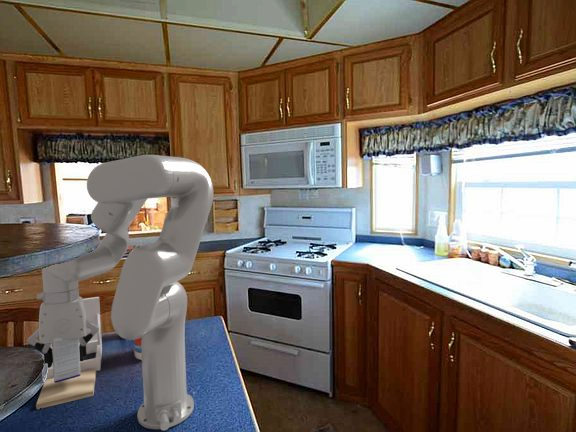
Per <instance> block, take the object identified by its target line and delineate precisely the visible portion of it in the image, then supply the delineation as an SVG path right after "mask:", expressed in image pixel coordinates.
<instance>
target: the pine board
mask: <svg viewBox="0 0 576 432" xmlns="http://www.w3.org/2000/svg"><path fill="white" fill-rule="evenodd" d="M96 376H97V371H96V369H93V370H88V371H83V372H80V376H78V377H75V378H72V379H68V380H65V381H61V382H58V383H55V382H54V378H51V379H46V380H45V382H44V383H43V386H42V388H41V390H40V394H39V396H38V399H37V401H36V404H35V407H36V409H37V410H40V408H41V409H44V408H49V407H54V406H57V405H62V404H64V403H65V404H66V403H69V402H72V401H73V402H74V401H77V400H82V399H85V398H89V397H93V396H94V393H95V384H96Z"/></svg>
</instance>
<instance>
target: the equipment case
mask: <svg viewBox="0 0 576 432" xmlns="http://www.w3.org/2000/svg"><path fill="white" fill-rule="evenodd" d="M82 299H83V303H84V307H85V312H86V319H87V320H88V321H90V322H92V323H93V324H95V325H97V326H98V327H99V330H98V332H97V333H96V334H95V335H94V336H93V337H92V338H91V340H90V341H89V342H88V343H87V344H86V353H87V354H86V355H89V354H93V353H95V357H94V358H89V359H85V360H84V359H83V361H80V372H83V371H88V370H93V369H96V372H98V371H101V365H102V353H103V342H102V325H101V324H102V322H101V307H100V306H101V305H100V296H95V297H87V298H82ZM90 331H91V329H89V328H87V331H86V334H85V336H86V335H87V334H88V333H90ZM79 346H80V343H79ZM50 347H51V349H52V343H51V345H50ZM52 355H53V353H52ZM51 378H54V376H53V363H52V366H51V367H50V368H48V373H47V378H46V379H51Z"/></svg>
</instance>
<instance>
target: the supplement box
mask: <svg viewBox="0 0 576 432" xmlns="http://www.w3.org/2000/svg"><path fill="white" fill-rule="evenodd" d="M52 353H53V365H52V367H53V376H54V382H55V383H58V382H61V381H65V380H68V379H72V378H75V377H78V376H80V353H79V339H74V340H66V341H63V339H62V338H57V339H53V343H52Z"/></svg>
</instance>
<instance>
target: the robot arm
mask: <svg viewBox="0 0 576 432" xmlns="http://www.w3.org/2000/svg"><path fill="white" fill-rule="evenodd" d="M86 189H87V194H88V195H89V196H90V198H91V199H92V200H94V201H95V202H97V203H96V204H95V207H94V208H93V209H92V212H90V213H91V214H90V219H91V222H92V223H93V225H94V226H95V227H96V228H98V230H100V231H102V232H103V233H105V235H104V237H103V238H102V240H101V241H100V242H99V244H98V247H97V248H96V249H95V250H93V251H92V252H90V253H87V254H85V255H82V256H80V257H78V258H76V259H74V260H72V261H69V262H65V263H61V264H55V265H51V266H49V267H46V268H43V269H42V268H41V275H42V288H43V291H42V292H40V293H37V294H36V300H40V301H41V300H42V301H43V302H42V303H41V304H40V307H39V315H38V329H36V330H35V331H34V332H33V333H32V334H31V335H30V336H29V337H28V338H27V340H26V342H27V344H30V345H31V346H33V347H34V348H35V349H37V350H38V351H41V353H42V354H43V358H44V362H45V364H47V366H48V368H50V367H51V366H52V367H53V365H52V363H53V355H52V349H51V347H50V345H51V343H53V339H57V338H62V339H63V341H66V340H74V339H79V343H80V346H79V353H80V361H84V359H85V357H87V355H88V354H87V353H86V344H87V343H88V342H89V341H90V340H91V338H92V337H93V336H94V335H95V334H96V333H97V332H98V330H99V327H98V326H97V325H95V324H93V323H92V322H90V321H88V320H87V319H86V312H85V307H84V303H83V299H84V298H83V297H82V296H80V288H79V282H81V281H83V280H84V281H85V280H87V279H90V278H93V277H97V276H100V275H103V274H106V273H108V272H111V271H112V270H113V269H114V268H115V267H116V266H117V265H118V264H119V262H120V261H121V259H122V258H123V256H124V255H125V254H126V252H127V250H128V248H129V244H130V243H129V242H130V235H129V227H130V226H131V224H132V222H133V221H134V220H135V218H136V217H137V215H138V214H139V212H140V211H141V209H142V208H143V207H144V204H145V203H146V202H147V200H148V199H158V198H159V199H160V198H172V197H175V201H174V203H173V205H172V206H171V208H170V209H169V210H168V212H167V214H166V216H165V218H164V221H163V226H162V228H161V232H160V234H159V237H158V238H157V239H156V241H154V242H151V243H146V244H143V245H141V246H138V247H136V248H135V249H133V250H132V251H131V252H130V253H129V254H128V255H127V256H126V259H125V260H124V262H123V265H122V267H121V271H120V274H119V278H118V281H117V285H116V289H115V293H114V296H113V297H114V298H113V300H112V305H111V311H110V321H111V325H112V328H113V330H114V331H115V333H116V334H117V335H118V336H119V337H120V338H122V339H125V340H129V341H130V340H133V341H134V339H139V338H141V337H142V342H141V350H142V360H141V367H142V370H141V371H142V386H143V390H142V391H143V403H142V404H141V405H140V407H139V408H138V411H137V416H136V417H137V421H138V424H140V425H141V426H142V427H144V428H146V429H149V430H161V431H164V432H165V431H167V430H168V429H169V428H171V427H172V428H173V427H174V426H177V425H179V424H181V423H182V422H184V421H186V419H189V416H191V414H192V413H193V411H194V408H195V402H194V397H192V395H190V393H189V394H188V393H187V368H186V367H187V366H186V342H185V341H186V338H185V337H186V336H185V334H186V333H185V328H186V325H185V324H186V317H187V311H188V309H187V308H188V296H187V295H188V294H187V291H186V290H185V288H184V286H183V285H182V284H181V283H180V282H178V281H180V280H183V279H184V278H185V277H187V276H188V275H189V274H190V272H191V271H192V268H193V266H194V262H195V259H196V256H197V253H198V250H199V246H200V242H201V240H202V238H203V233H204V229H205V226H206V223H207V220H208V217H209V214H210V213H211V208H212V206H213V201H214V185H213V181H212V178H211V177H210V175H209V173H208V172H207V170H206V168H204V166H202V165H201V164H200V163H199V162H196V161H194V160H192V159H189V158H186V157H181V156H169V155H160V154H159V155H158V154H142V155H135V156H132V157H128V158H127V157H126V158H121V159H118V160H117V159H116V160H111V161H107V162H103V163H100V164H97V166H95V167H94V168H92V170H91V172H90V173H89V174H88V176H87V180H86ZM87 328H89V329H91V331H90V333H88V334H87V335H86V336H85V334H86V331H87ZM38 339H39V340H38Z"/></svg>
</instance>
